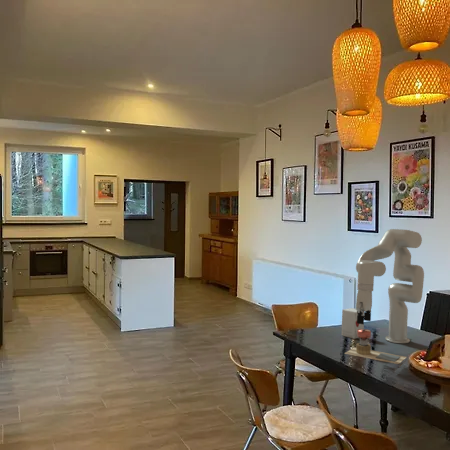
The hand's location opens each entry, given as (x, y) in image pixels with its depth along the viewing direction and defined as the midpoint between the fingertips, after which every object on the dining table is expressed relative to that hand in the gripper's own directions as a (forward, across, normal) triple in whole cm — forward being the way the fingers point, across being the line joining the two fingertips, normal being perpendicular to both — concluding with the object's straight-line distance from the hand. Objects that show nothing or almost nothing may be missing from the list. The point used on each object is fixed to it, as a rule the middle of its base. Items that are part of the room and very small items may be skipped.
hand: (363, 322), depth 241 cm
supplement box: (+16, -34, -18) cm, 42 cm away
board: (+17, -1, +6) cm, 18 cm away
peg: (+15, -1, 0) cm, 15 cm away
